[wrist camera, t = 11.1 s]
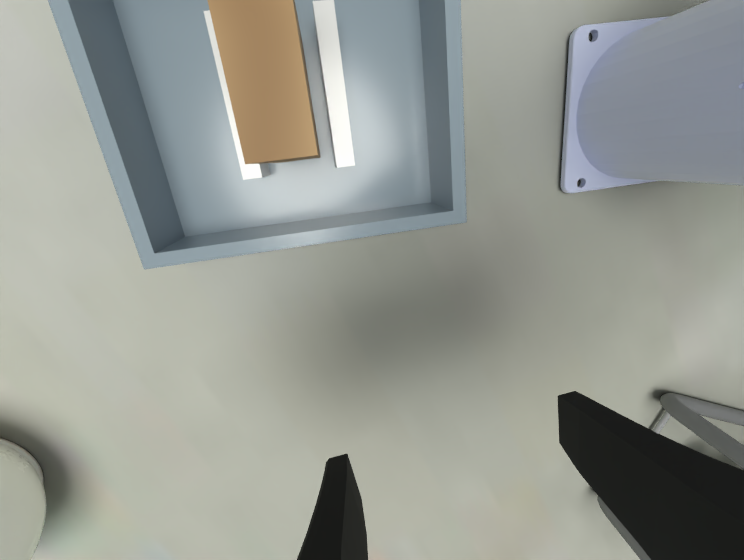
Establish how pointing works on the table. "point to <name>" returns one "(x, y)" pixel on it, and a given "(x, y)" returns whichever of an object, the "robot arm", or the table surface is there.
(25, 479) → the lidded jar
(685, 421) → the newton's cradle
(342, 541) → the robot arm
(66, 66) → the table surface
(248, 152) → the wooden rectangular block
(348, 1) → the slotted square caddy
